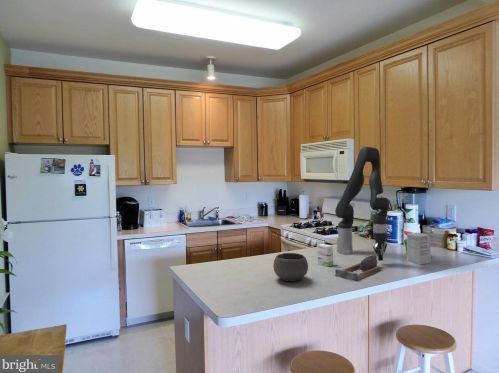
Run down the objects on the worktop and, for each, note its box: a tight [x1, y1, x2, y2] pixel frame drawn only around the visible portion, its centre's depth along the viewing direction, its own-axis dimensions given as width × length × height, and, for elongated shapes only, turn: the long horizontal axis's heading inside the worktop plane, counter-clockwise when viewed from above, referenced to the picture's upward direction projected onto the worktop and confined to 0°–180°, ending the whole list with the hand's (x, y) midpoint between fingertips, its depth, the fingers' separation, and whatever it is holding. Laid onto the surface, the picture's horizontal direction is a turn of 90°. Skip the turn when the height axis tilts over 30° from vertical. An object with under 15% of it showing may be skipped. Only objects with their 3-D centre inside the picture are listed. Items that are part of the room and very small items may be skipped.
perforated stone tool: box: [359, 254, 378, 271], centre depth 192 cm, size 15×5×7 cm, turn 126°
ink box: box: [316, 243, 334, 267], centre depth 203 cm, size 9×5×12 cm, turn 34°
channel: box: [334, 262, 381, 282], centre depth 185 cm, size 12×25×4 cm, turn 131°
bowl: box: [273, 252, 309, 282], centre depth 178 cm, size 18×18×13 cm
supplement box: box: [406, 232, 432, 266], centre depth 203 cm, size 10×9×17 cm
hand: (380, 260), depth 200 cm, fingers closed
